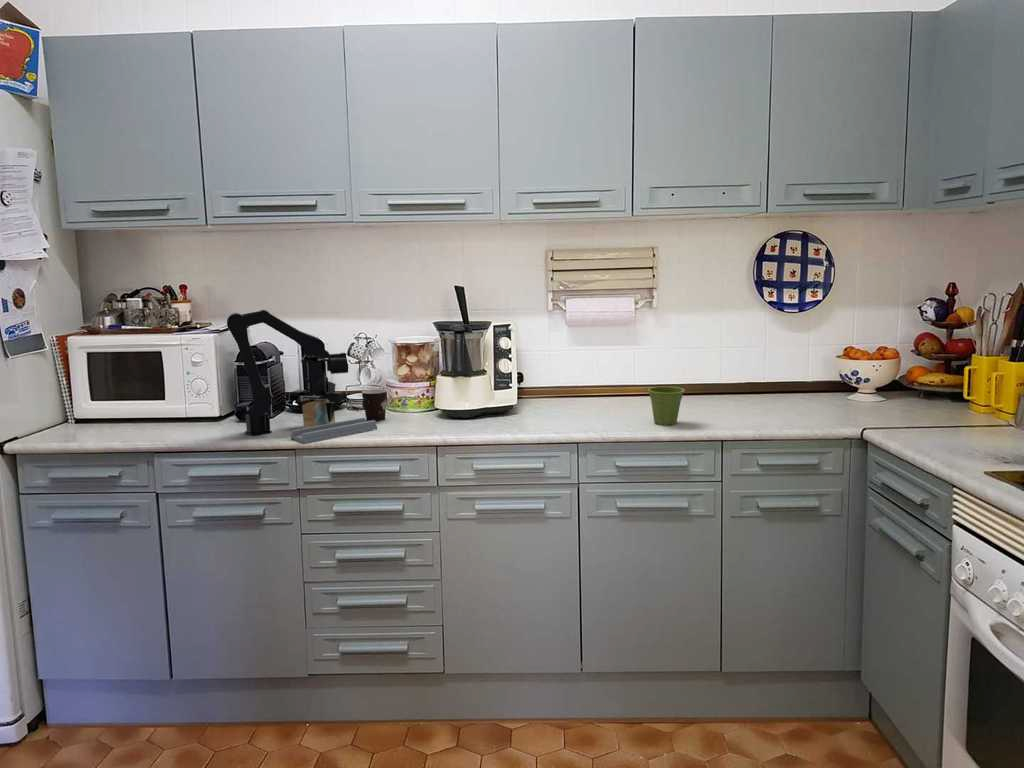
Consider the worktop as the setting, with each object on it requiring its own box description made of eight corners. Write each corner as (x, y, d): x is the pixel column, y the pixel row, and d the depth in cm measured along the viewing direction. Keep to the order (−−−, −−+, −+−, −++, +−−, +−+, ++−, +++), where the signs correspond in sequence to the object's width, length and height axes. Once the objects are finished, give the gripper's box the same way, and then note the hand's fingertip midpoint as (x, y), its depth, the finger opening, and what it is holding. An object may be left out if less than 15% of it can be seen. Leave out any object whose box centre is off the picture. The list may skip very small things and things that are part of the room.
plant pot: (650, 427, 247) (650, 392, 245) (645, 419, 259) (645, 386, 257) (687, 427, 246) (688, 392, 245) (680, 419, 258) (681, 386, 256)
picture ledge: (305, 443, 236) (304, 434, 235) (291, 439, 242) (290, 430, 242) (377, 429, 253) (376, 420, 253) (362, 425, 260) (361, 417, 259)
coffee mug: (379, 416, 275) (377, 388, 273) (393, 419, 269) (391, 391, 267) (350, 421, 267) (349, 392, 265) (365, 424, 261) (363, 395, 259)
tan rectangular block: (314, 432, 251) (312, 405, 250) (304, 432, 252) (302, 405, 251) (335, 423, 265) (333, 397, 263) (325, 423, 266) (324, 397, 264)
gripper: (353, 372, 261) (356, 417, 263) (304, 371, 266) (307, 415, 268) (337, 377, 250) (339, 424, 253) (286, 375, 255) (289, 422, 258)
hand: (319, 421), depth 258 cm, fingers open, 8 cm apart
